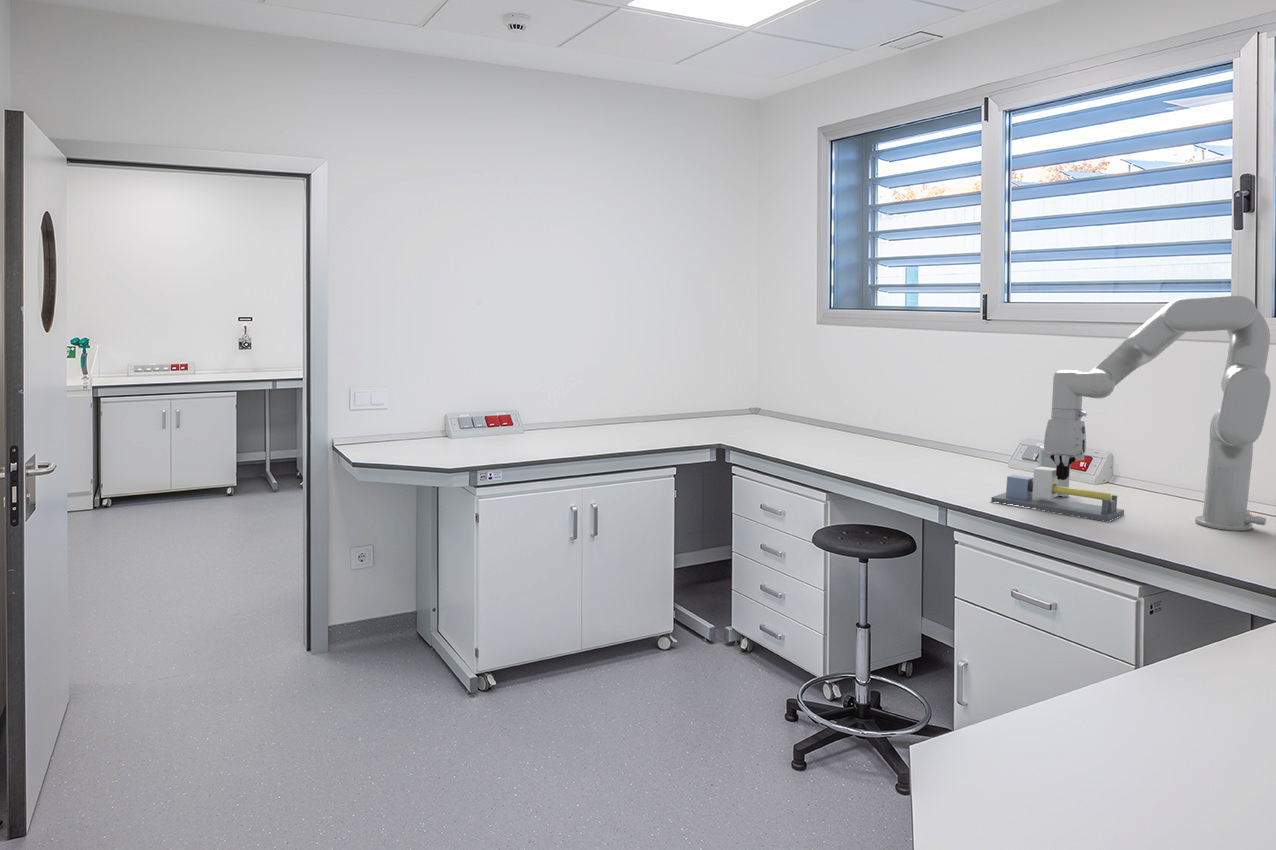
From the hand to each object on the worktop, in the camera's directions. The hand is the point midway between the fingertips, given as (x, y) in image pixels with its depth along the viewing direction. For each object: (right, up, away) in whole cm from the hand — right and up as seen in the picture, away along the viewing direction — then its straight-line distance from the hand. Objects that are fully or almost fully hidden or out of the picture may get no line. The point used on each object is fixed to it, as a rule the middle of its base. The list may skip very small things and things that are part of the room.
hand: (1062, 479), depth 251 cm
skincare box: (+6, -6, +20) cm, 22 cm away
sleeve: (-3, -5, +4) cm, 7 cm away
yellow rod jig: (-1, -8, +2) cm, 9 cm away
